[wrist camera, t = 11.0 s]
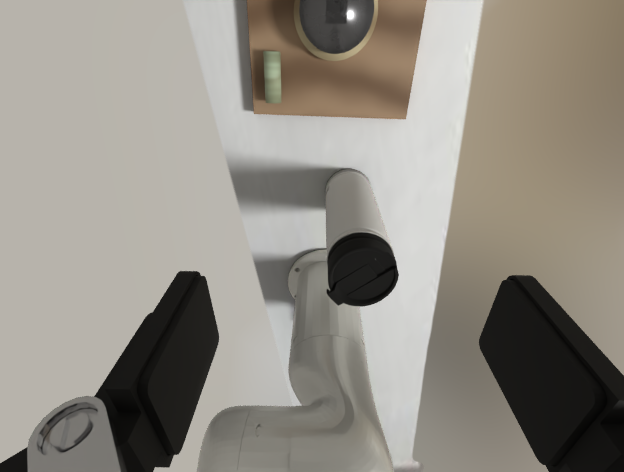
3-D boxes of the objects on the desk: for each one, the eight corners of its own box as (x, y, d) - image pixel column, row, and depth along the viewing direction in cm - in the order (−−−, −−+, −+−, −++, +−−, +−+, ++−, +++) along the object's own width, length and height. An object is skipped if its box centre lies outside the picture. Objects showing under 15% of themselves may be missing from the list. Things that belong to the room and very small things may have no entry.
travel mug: (314, 187, 44) (309, 278, 27) (354, 159, 42) (376, 239, 24) (340, 219, 46) (350, 321, 29) (379, 194, 44) (415, 289, 27)
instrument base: (402, 116, 39) (409, 122, 36) (256, 111, 39) (251, 116, 36) (442, -118, 28) (456, -137, 25) (242, -124, 28) (233, -143, 26)
